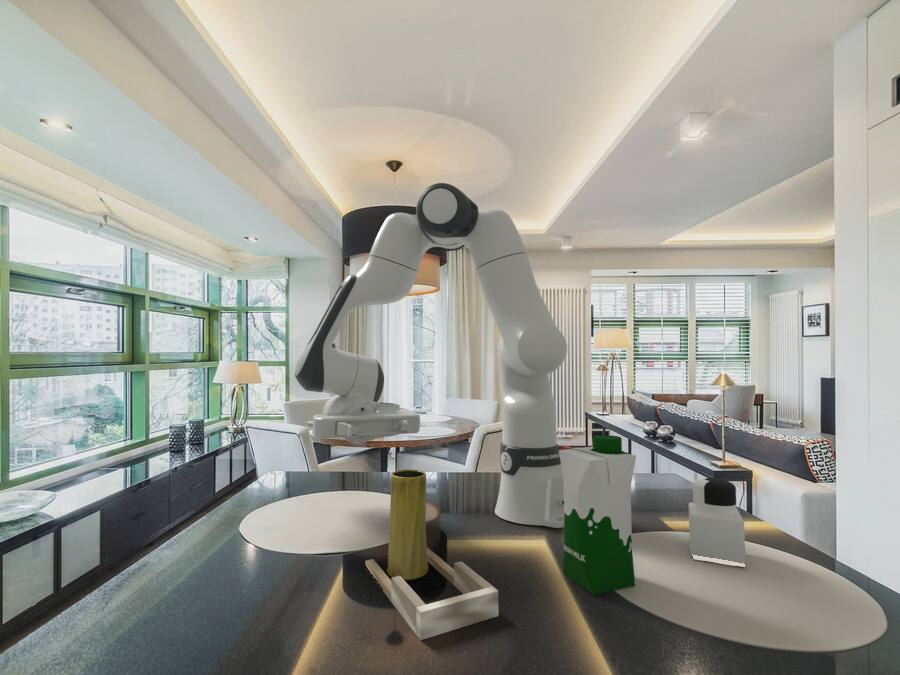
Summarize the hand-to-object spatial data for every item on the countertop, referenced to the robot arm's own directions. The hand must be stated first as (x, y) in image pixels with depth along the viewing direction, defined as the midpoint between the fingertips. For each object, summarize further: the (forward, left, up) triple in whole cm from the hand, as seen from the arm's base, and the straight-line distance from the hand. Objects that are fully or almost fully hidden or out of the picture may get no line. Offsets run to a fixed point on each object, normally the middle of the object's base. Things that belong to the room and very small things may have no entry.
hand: (380, 429), depth 79 cm
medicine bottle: (-46, +30, -19) cm, 58 cm away
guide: (0, +18, -19) cm, 26 cm away
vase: (0, +12, -19) cm, 23 cm away
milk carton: (-23, +27, -19) cm, 41 cm away
